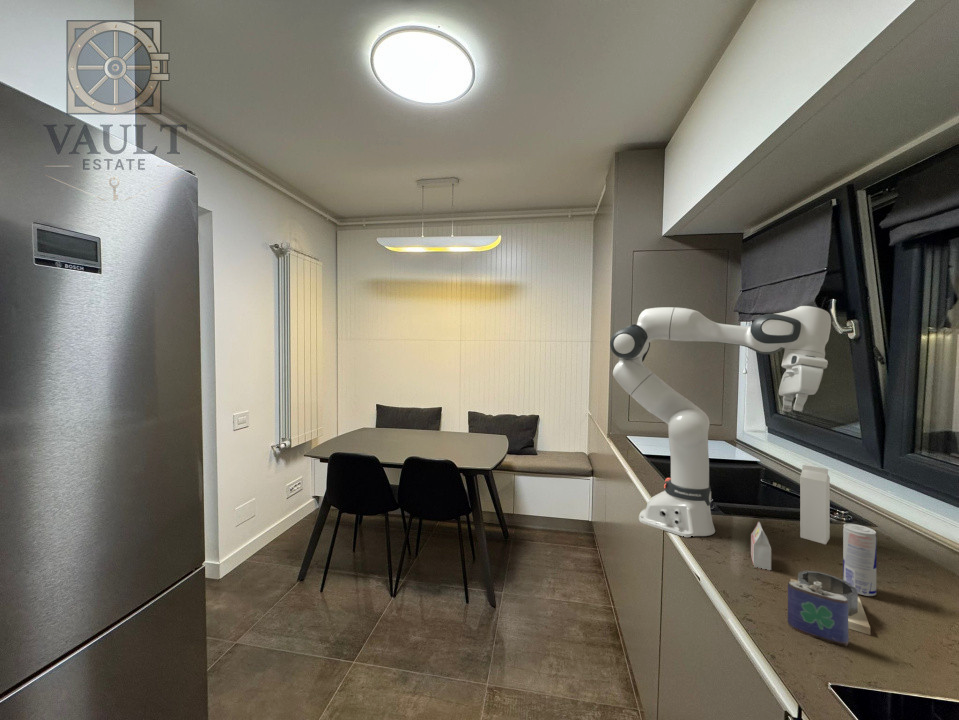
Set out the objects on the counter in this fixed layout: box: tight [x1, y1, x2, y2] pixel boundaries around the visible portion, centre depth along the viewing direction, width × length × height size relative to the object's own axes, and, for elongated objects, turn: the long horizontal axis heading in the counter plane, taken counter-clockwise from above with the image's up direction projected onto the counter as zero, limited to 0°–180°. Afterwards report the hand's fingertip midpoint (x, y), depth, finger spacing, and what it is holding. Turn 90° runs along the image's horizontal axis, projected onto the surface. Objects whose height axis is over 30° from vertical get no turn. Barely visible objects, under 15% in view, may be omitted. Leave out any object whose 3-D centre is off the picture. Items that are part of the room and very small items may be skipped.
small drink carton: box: [750, 521, 772, 571], centre depth 103 cm, size 4×7×10 cm, turn 150°
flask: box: [787, 580, 850, 647], centre depth 76 cm, size 9×3×11 cm, turn 51°
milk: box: [799, 464, 831, 545], centre depth 116 cm, size 6×6×22 cm
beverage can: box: [842, 523, 877, 597], centre depth 90 cm, size 6×6×15 cm
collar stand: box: [790, 570, 871, 636], centre depth 84 cm, size 12×12×6 cm
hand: (791, 411), depth 106 cm, fingers open, 8 cm apart
